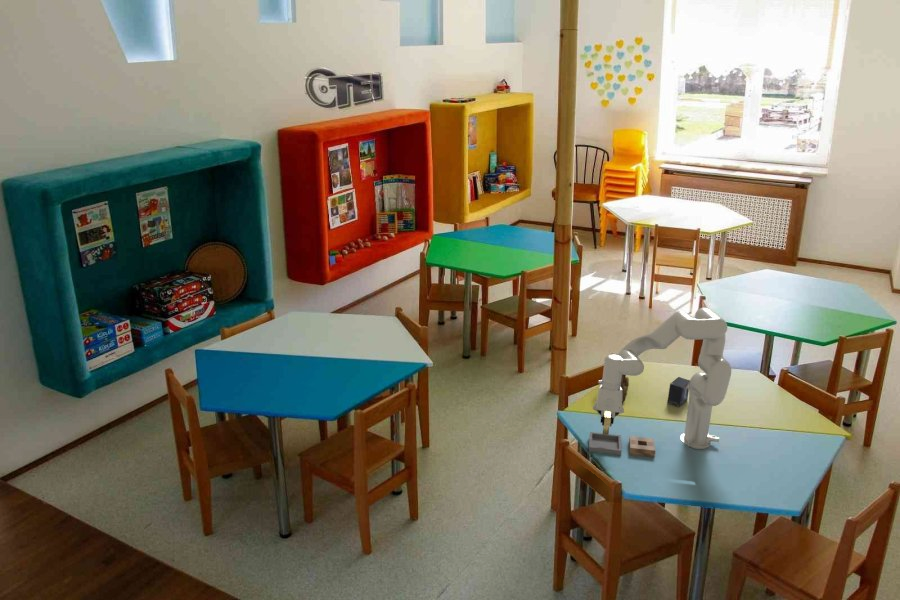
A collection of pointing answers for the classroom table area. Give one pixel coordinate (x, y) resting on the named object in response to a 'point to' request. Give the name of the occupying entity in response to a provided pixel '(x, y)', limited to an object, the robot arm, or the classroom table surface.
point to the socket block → (641, 446)
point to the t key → (606, 423)
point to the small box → (678, 391)
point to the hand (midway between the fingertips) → (606, 424)
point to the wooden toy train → (624, 385)
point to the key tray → (605, 443)
